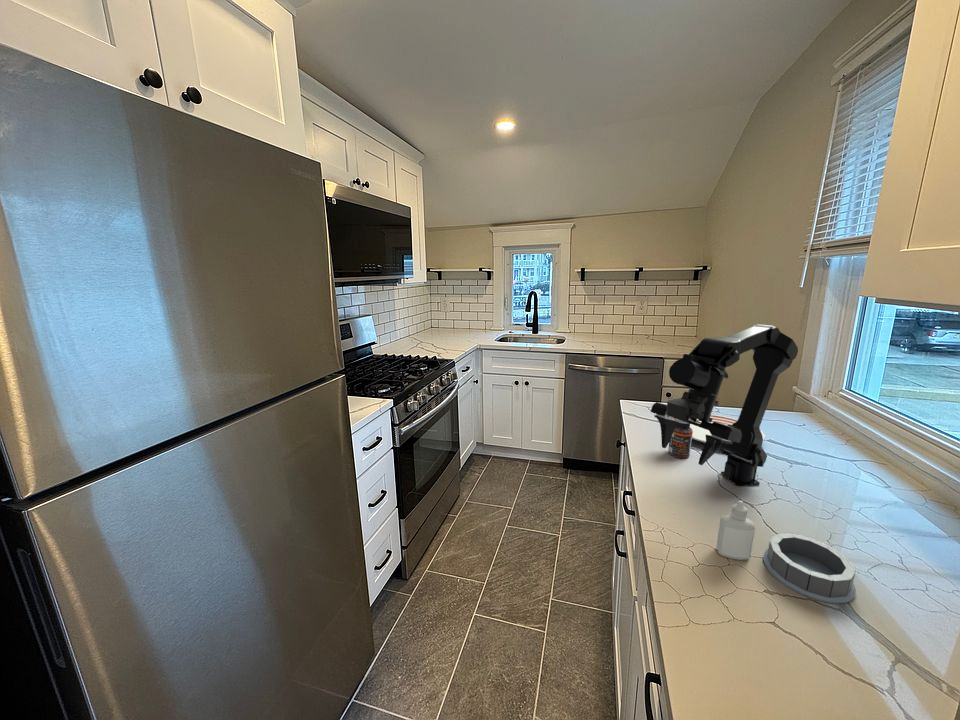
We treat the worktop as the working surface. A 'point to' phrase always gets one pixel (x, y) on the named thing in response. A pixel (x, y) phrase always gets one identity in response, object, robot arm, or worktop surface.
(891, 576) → the worktop surface
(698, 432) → the dinner plate
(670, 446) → the supplement bottle
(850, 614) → the worktop surface
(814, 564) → the grey segmented round bowl
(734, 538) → the eye dropper bottle
